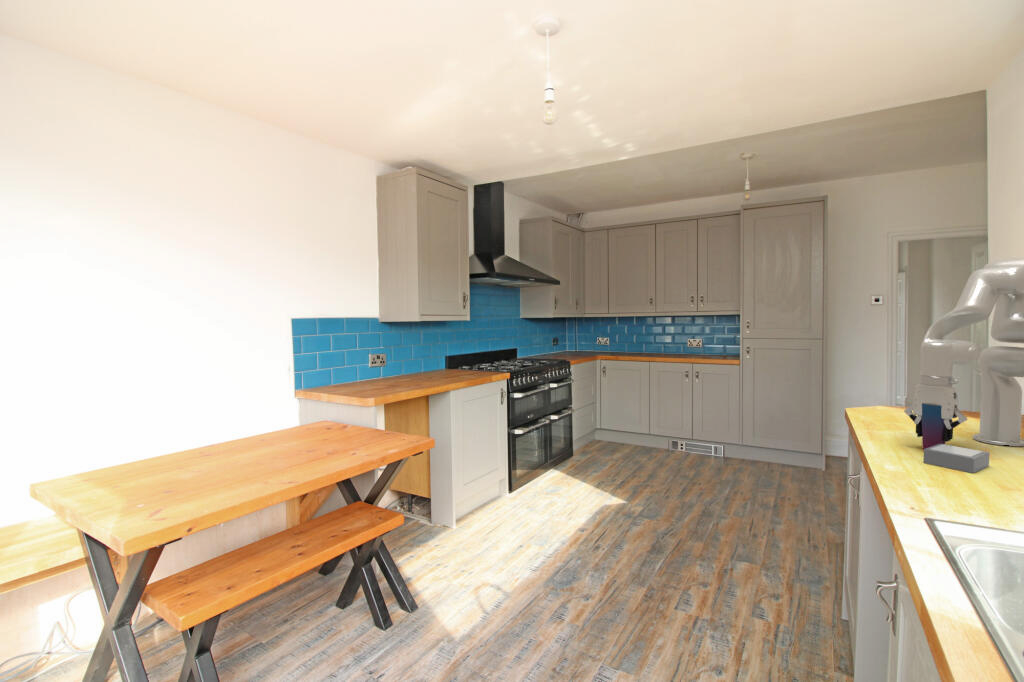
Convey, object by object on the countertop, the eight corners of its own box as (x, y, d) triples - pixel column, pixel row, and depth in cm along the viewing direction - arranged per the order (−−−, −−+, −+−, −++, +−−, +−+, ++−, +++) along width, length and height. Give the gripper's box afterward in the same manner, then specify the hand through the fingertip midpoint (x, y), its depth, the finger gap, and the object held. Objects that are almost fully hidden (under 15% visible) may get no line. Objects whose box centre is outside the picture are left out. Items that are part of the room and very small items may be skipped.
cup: (953, 454, 149) (955, 405, 148) (927, 453, 150) (929, 405, 149) (938, 448, 155) (940, 401, 154) (914, 447, 157) (915, 401, 156)
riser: (939, 456, 147) (940, 443, 147) (988, 466, 137) (989, 451, 137) (923, 462, 141) (923, 448, 141) (973, 473, 132) (974, 458, 132)
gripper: (977, 383, 146) (974, 443, 147) (907, 377, 161) (906, 431, 162) (967, 385, 142) (964, 446, 143) (897, 379, 157) (895, 434, 158)
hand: (933, 438), depth 152 cm, fingers closed on cup, 6 cm apart
